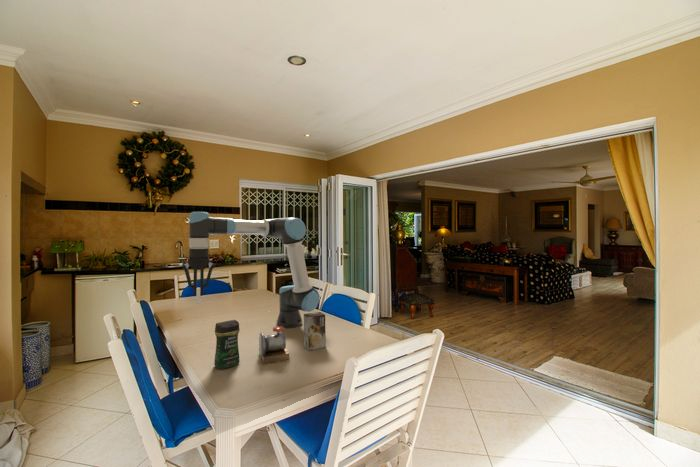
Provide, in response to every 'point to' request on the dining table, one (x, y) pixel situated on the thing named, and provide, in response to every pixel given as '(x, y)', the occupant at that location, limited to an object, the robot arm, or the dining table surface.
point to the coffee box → (314, 331)
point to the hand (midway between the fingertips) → (198, 303)
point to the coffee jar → (226, 344)
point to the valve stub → (273, 347)
